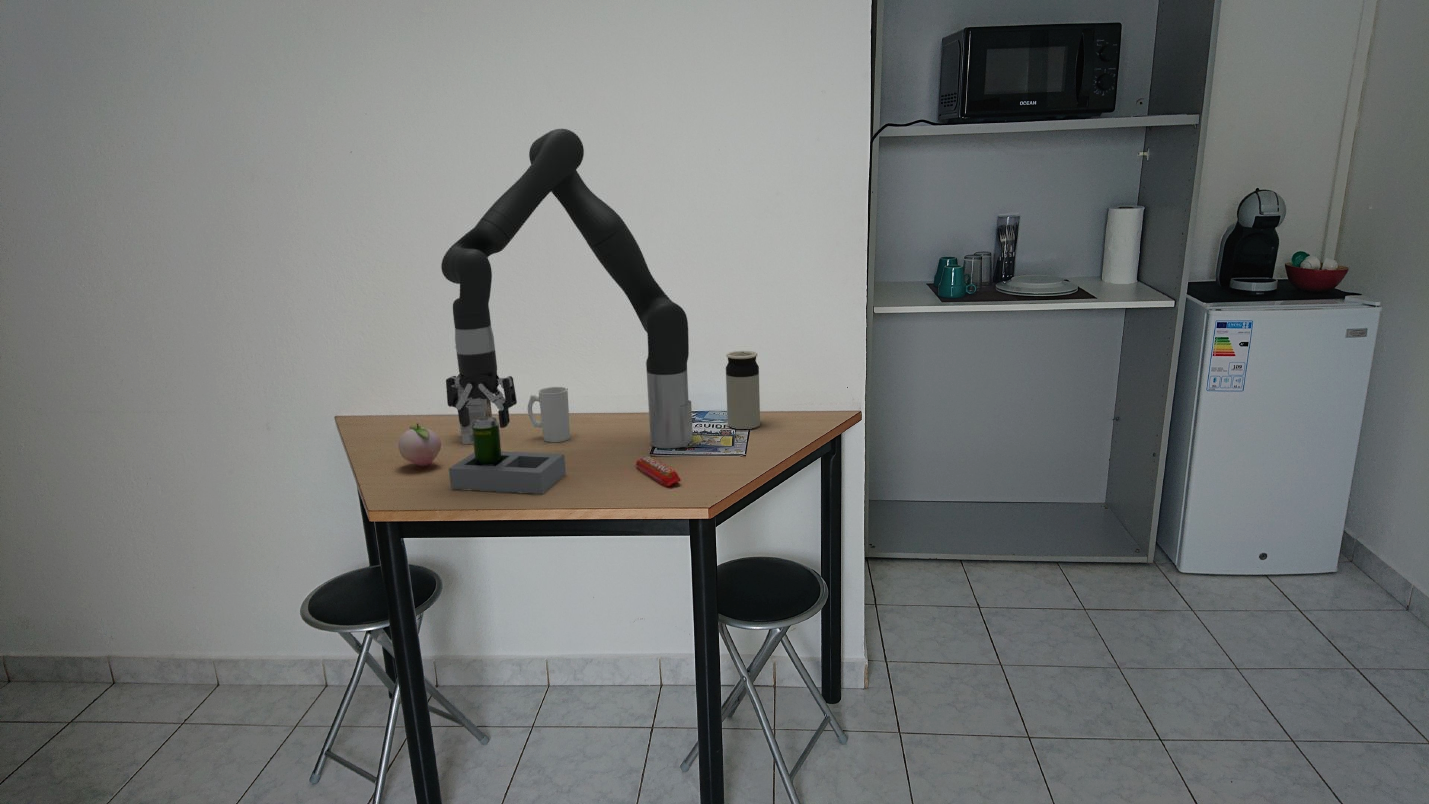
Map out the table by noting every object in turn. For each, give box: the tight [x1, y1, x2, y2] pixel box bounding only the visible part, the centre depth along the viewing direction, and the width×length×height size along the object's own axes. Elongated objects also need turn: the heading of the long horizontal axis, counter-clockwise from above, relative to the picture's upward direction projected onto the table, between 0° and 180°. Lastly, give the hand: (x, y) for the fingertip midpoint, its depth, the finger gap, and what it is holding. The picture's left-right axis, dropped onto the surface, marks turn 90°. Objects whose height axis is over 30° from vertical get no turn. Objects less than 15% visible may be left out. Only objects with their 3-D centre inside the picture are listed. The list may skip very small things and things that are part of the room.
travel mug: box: [725, 350, 761, 430], centre depth 217 cm, size 8×8×18 cm
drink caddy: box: [448, 450, 566, 495], centre depth 185 cm, size 20×12×4 cm, turn 76°
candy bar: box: [635, 455, 681, 487], centre depth 185 cm, size 16×4×3 cm, turn 29°
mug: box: [527, 386, 571, 443], centre depth 213 cm, size 10×7×12 cm, turn 81°
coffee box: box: [456, 372, 493, 445], centre depth 215 cm, size 9×6×16 cm
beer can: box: [472, 416, 502, 466], centre depth 185 cm, size 5×5×12 cm
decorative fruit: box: [397, 422, 442, 468], centre depth 196 cm, size 9×8×10 cm
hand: (484, 426), depth 184 cm, fingers open, 8 cm apart
